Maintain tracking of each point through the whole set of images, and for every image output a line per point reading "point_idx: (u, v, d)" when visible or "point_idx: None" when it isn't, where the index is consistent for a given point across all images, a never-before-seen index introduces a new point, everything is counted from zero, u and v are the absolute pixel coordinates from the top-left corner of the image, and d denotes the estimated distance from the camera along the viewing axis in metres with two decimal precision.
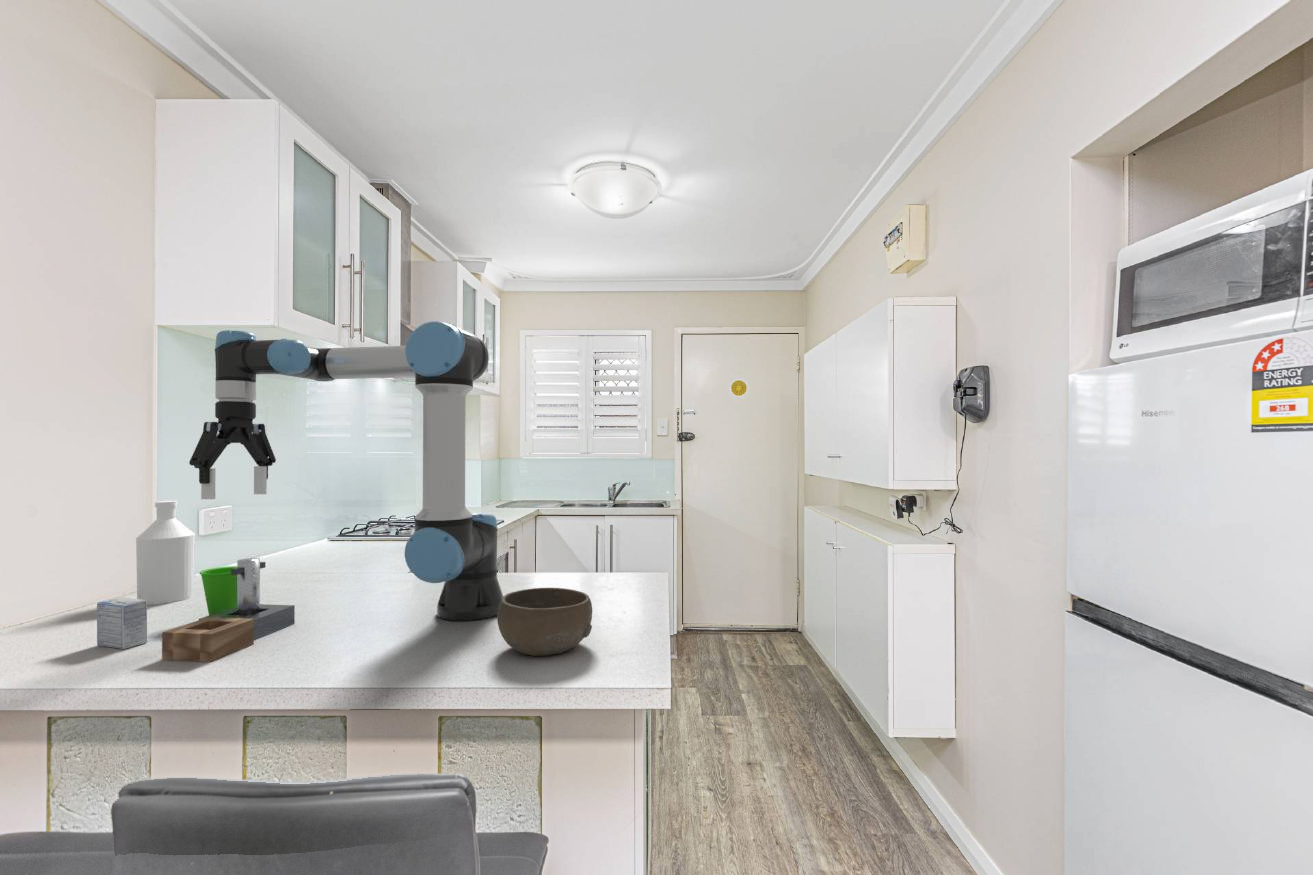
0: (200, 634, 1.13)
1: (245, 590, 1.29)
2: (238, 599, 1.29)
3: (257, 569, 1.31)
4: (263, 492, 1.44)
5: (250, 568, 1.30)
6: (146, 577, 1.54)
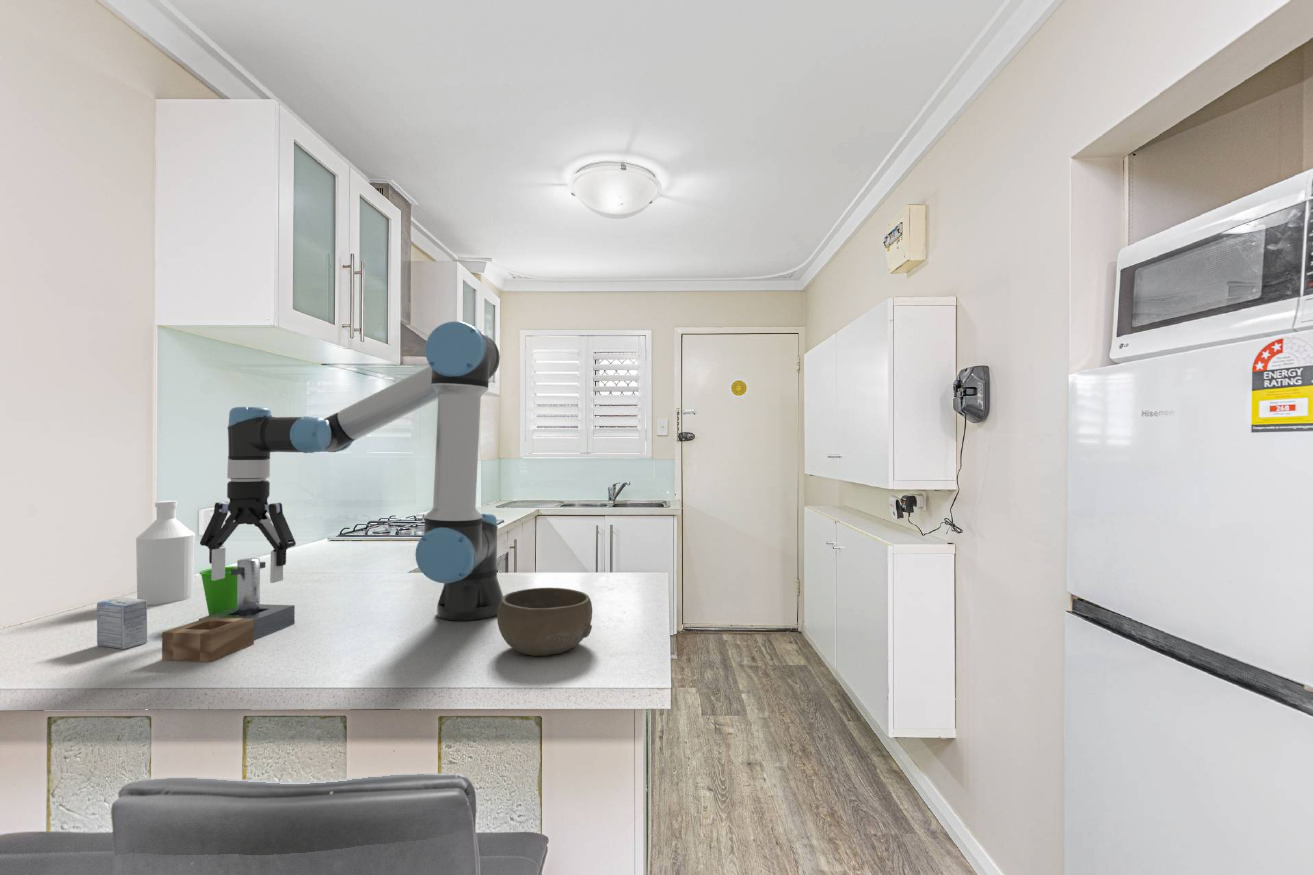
0: (200, 634, 1.13)
1: (245, 590, 1.29)
2: (238, 599, 1.29)
3: (257, 569, 1.31)
4: None
5: (250, 568, 1.30)
6: (146, 577, 1.54)
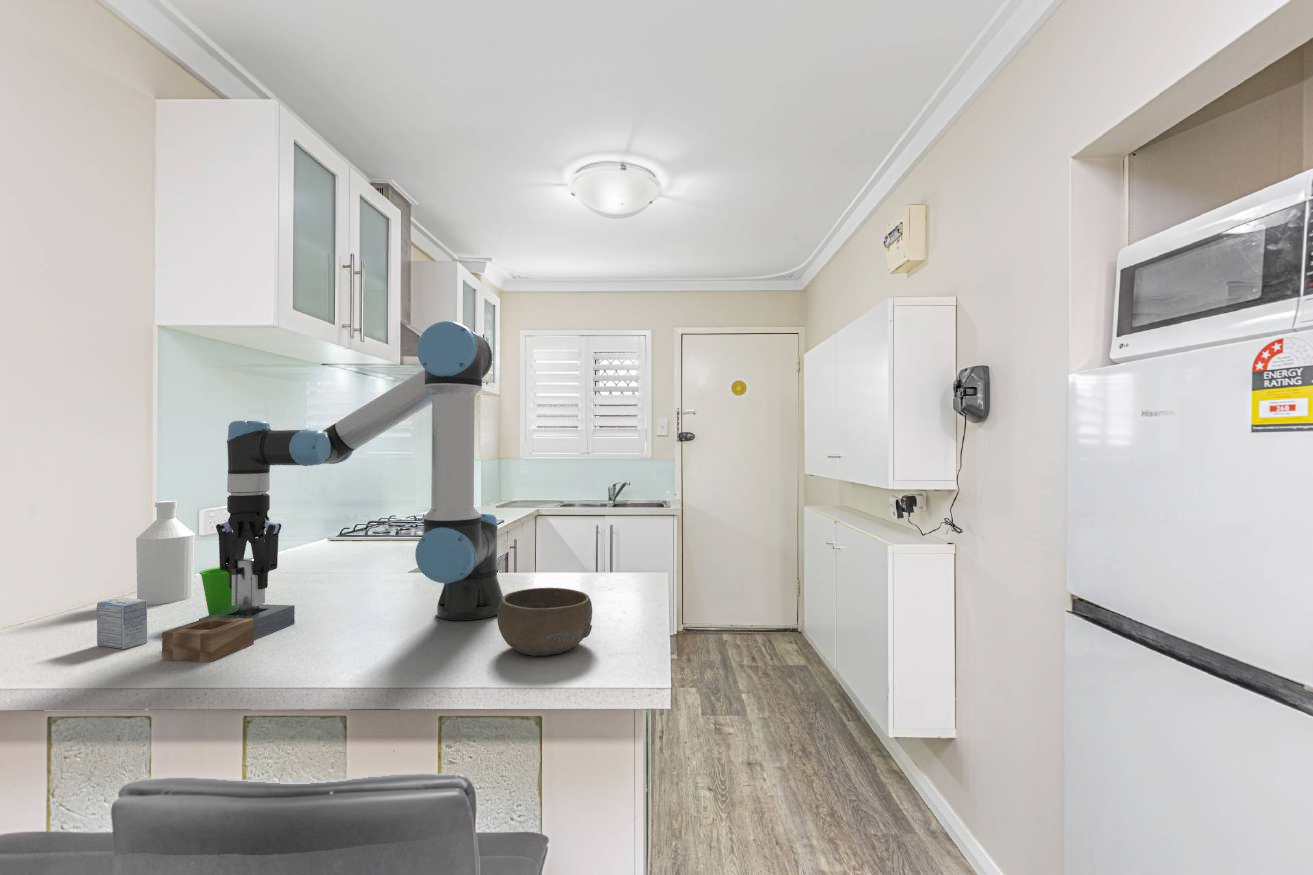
0: (200, 634, 1.13)
1: (245, 590, 1.29)
2: (238, 599, 1.29)
3: None
4: None
5: (250, 568, 1.30)
6: (146, 577, 1.54)
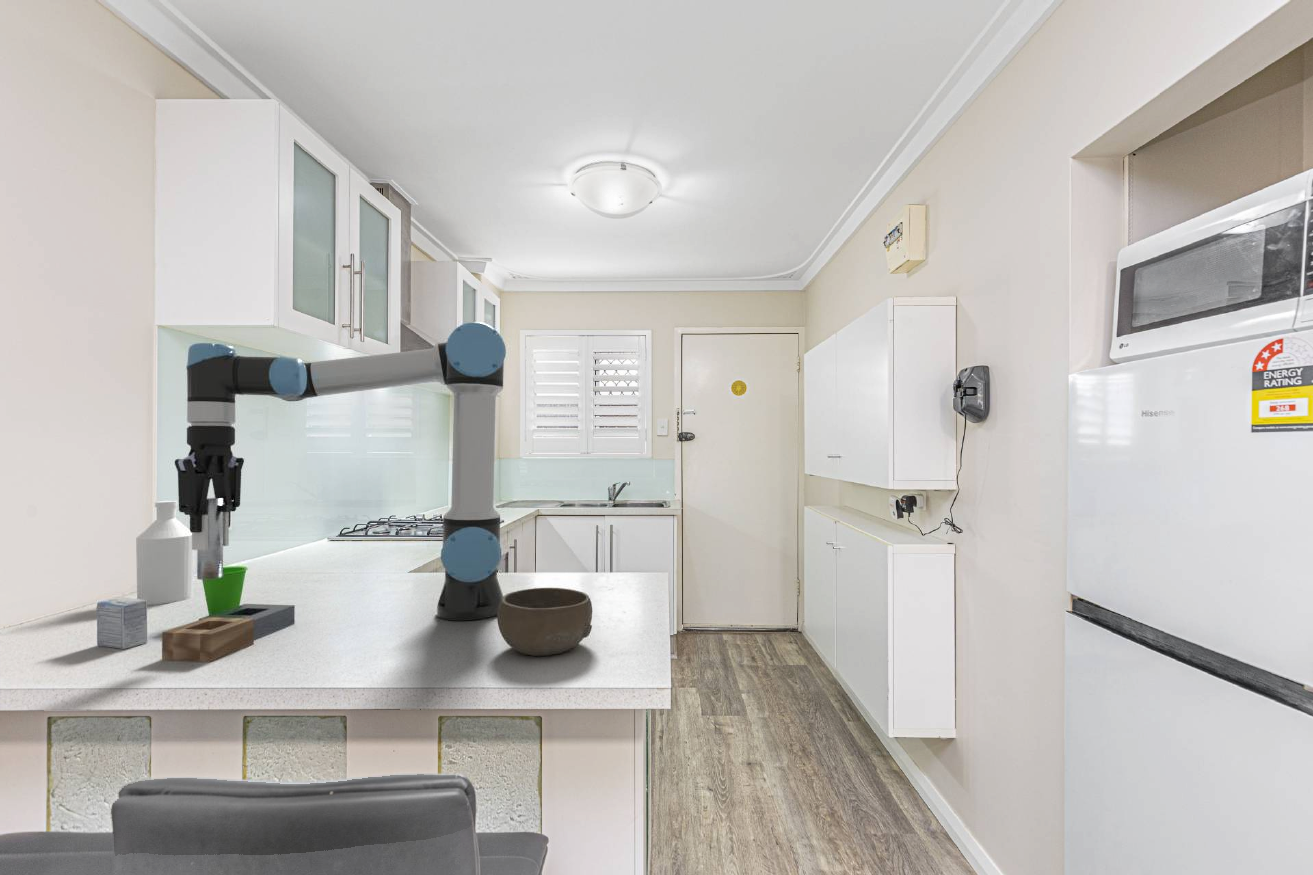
0: (200, 634, 1.13)
1: (222, 530, 1.19)
2: (215, 541, 1.17)
3: None
4: (225, 544, 1.20)
5: None
6: (146, 577, 1.54)
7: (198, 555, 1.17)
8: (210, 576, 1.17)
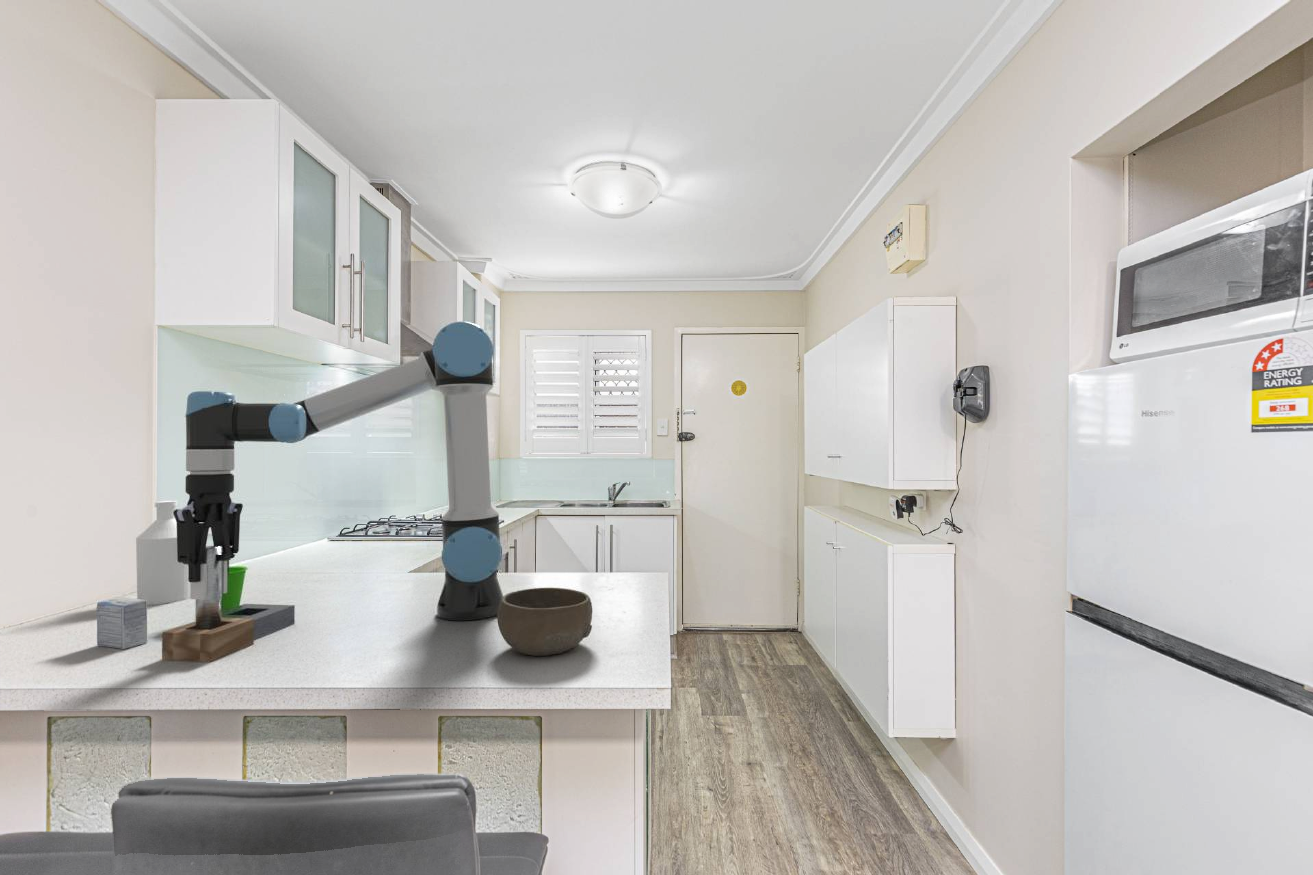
0: (200, 634, 1.13)
1: (221, 578, 1.18)
2: (213, 590, 1.17)
3: None
4: (223, 591, 1.20)
5: None
6: (146, 577, 1.54)
7: (196, 604, 1.16)
8: (209, 626, 1.16)
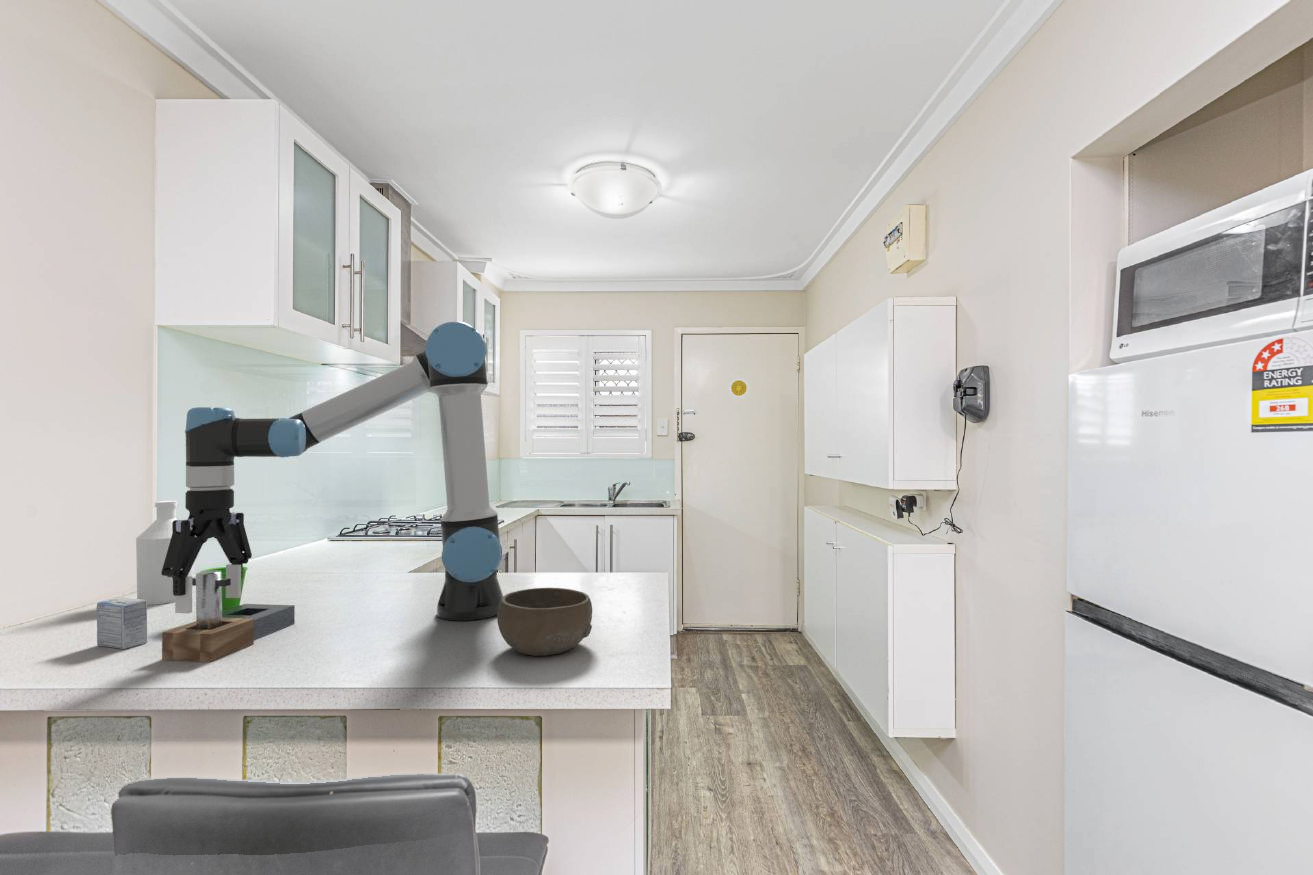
0: (200, 634, 1.13)
1: (221, 603, 1.18)
2: (214, 615, 1.17)
3: None
4: (238, 596, 1.23)
5: None
6: (146, 577, 1.54)
7: None
8: None
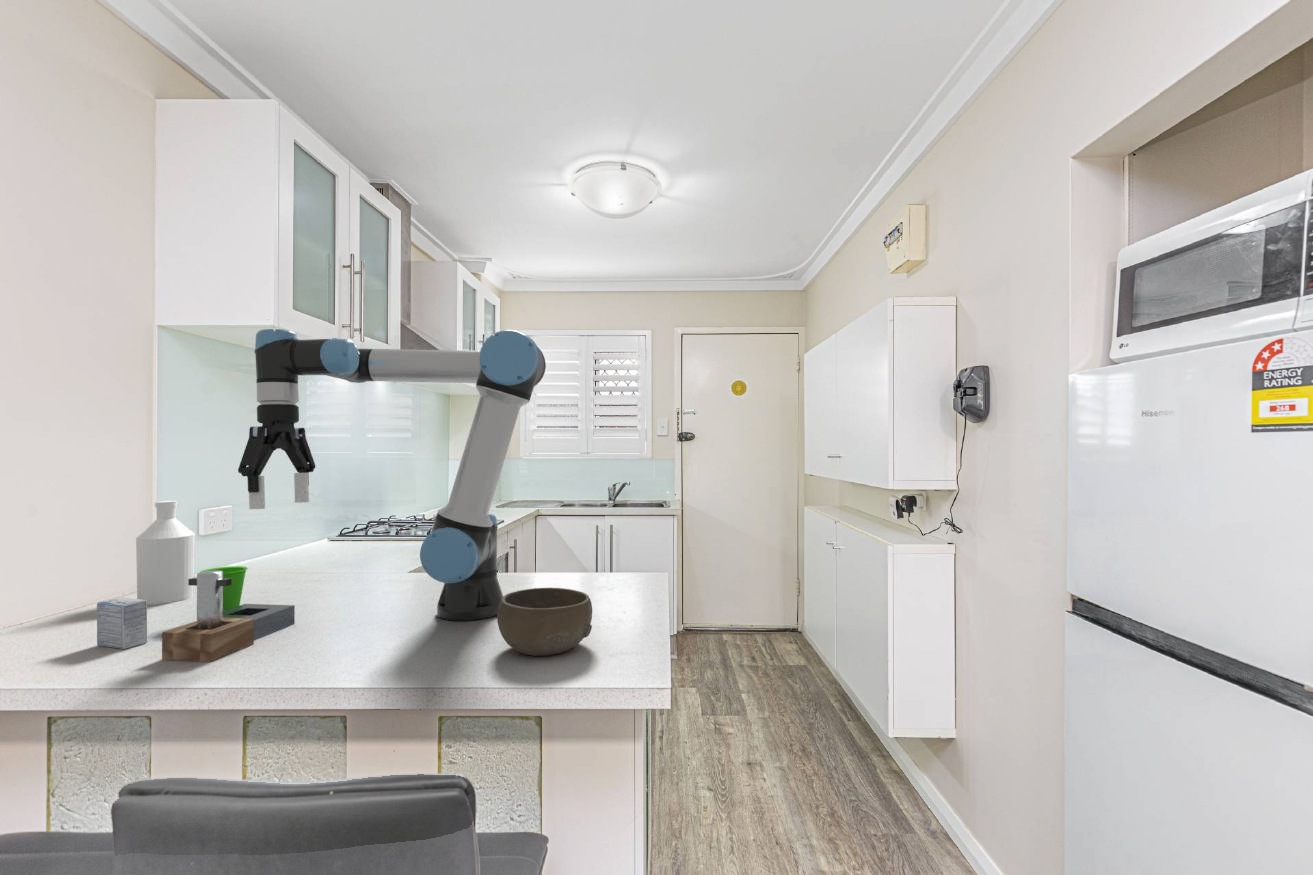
0: (200, 634, 1.13)
1: (222, 603, 1.18)
2: (214, 615, 1.17)
3: None
4: (306, 500, 1.36)
5: None
6: (146, 577, 1.54)
7: None
8: None
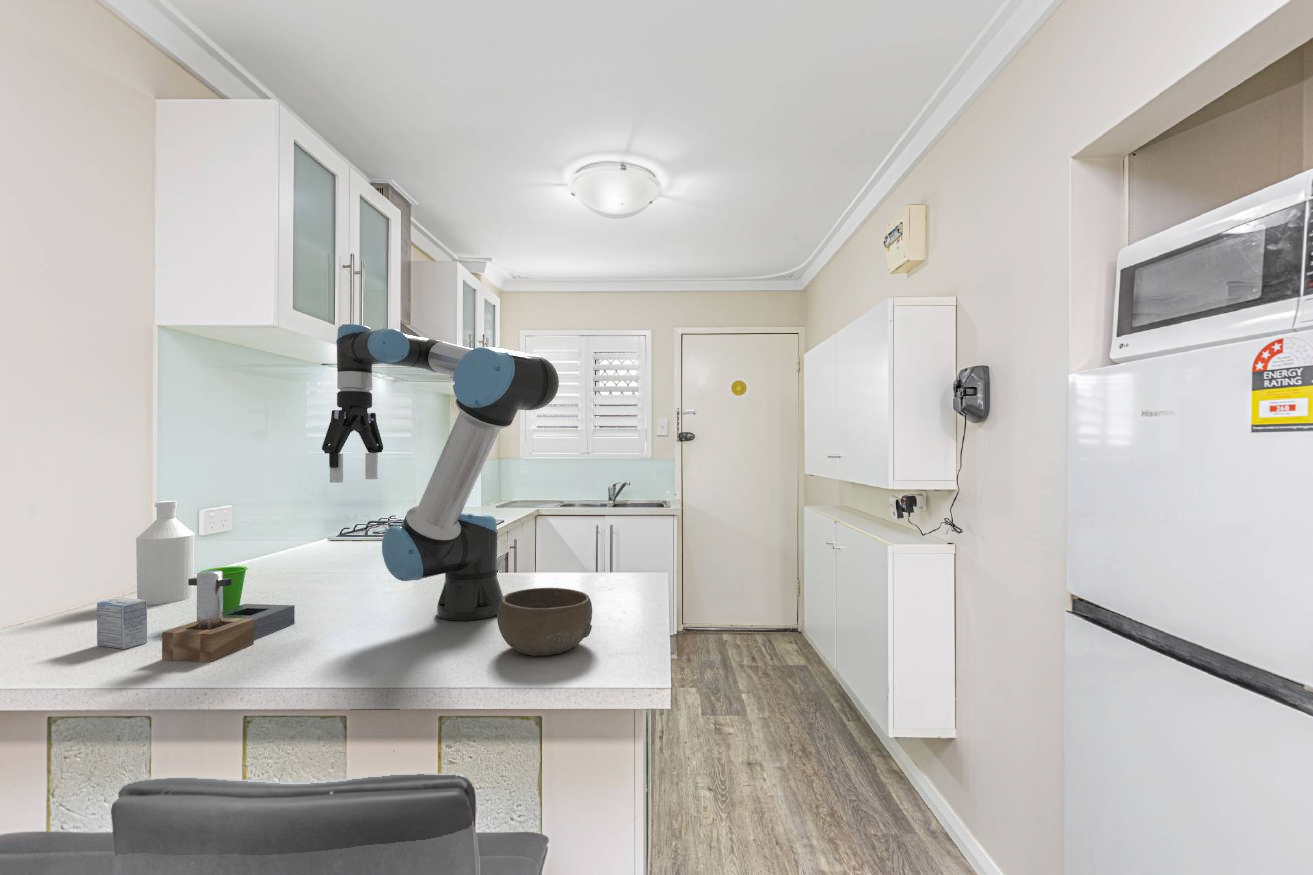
0: (200, 634, 1.13)
1: (221, 603, 1.18)
2: (214, 615, 1.17)
3: None
4: (375, 478, 1.53)
5: None
6: (146, 577, 1.54)
7: None
8: None
